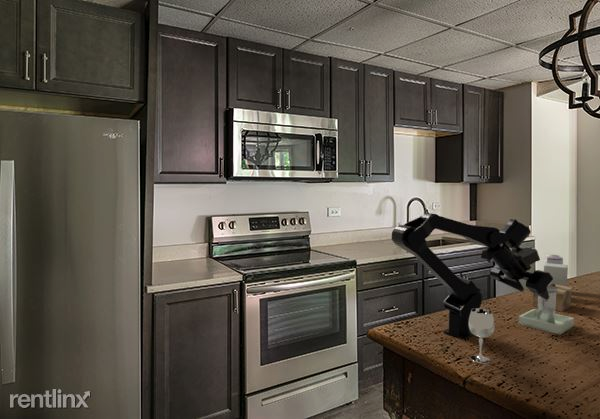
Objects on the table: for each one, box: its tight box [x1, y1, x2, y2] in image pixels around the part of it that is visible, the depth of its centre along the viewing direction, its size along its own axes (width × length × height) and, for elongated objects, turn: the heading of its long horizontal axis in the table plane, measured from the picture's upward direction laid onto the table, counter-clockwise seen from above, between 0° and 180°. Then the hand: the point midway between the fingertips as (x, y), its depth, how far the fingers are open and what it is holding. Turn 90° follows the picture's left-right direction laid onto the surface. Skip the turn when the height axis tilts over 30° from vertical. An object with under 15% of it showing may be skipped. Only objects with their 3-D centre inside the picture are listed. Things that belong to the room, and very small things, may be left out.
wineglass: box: [468, 308, 496, 365], centre depth 95 cm, size 6×6×12 cm
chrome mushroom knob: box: [537, 286, 558, 324], centre depth 119 cm, size 5×5×11 cm
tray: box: [518, 308, 575, 336], centre depth 119 cm, size 11×11×2 cm
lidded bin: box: [532, 284, 574, 312], centre depth 138 cm, size 10×10×8 cm
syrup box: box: [543, 254, 564, 266], centre depth 157 cm, size 6×6×14 cm
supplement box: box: [543, 263, 569, 286], centre depth 148 cm, size 7×7×13 cm
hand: (534, 294), depth 118 cm, fingers open, 9 cm apart
